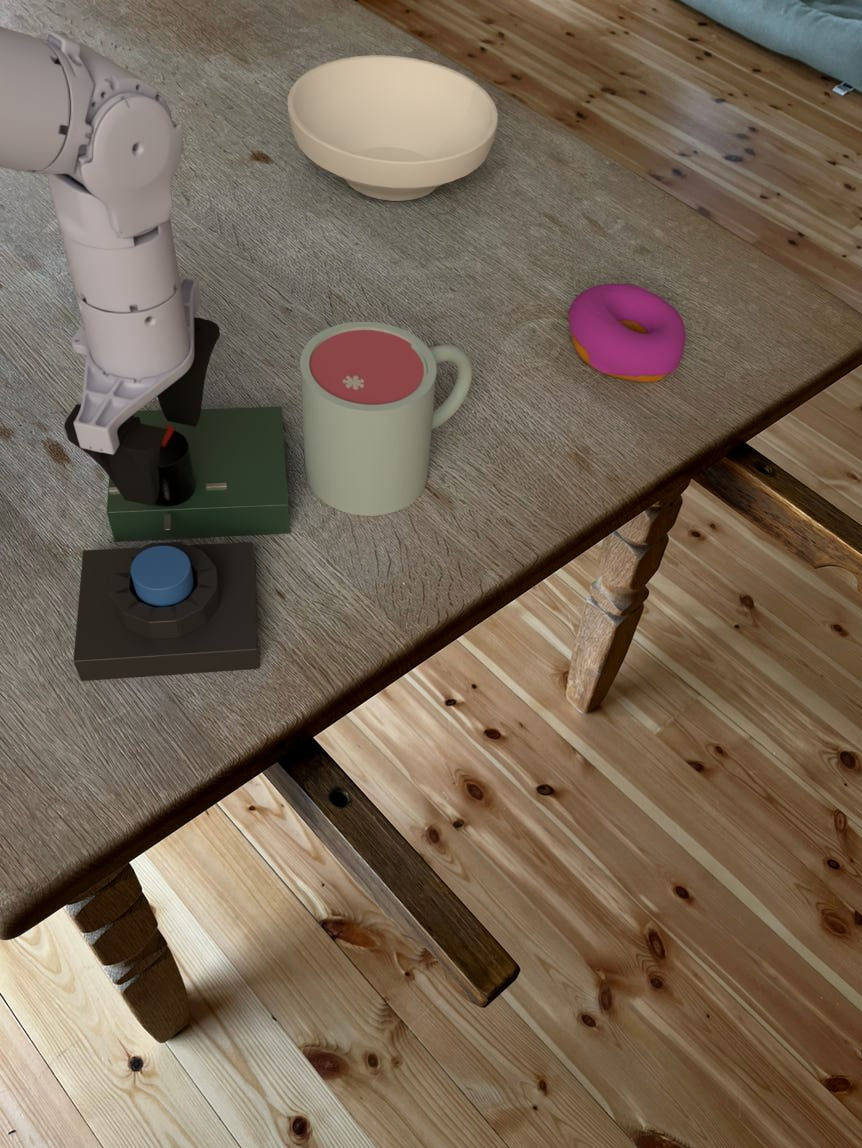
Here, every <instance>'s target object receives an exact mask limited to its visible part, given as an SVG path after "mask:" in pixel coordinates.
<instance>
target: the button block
mask: <svg viewBox="0 0 862 1148" xmlns="http://www.w3.org/2000/svg"><path fill="white" fill-rule="evenodd" d="M161 545H165V546H172V547H175V548H178V549H180V550H181V551H183V552H184V553H185V554H186V555H187V556H188V558H189V560H190V563H191V568H192V574H193V579H194V585H193V588H192V591H191V592H190V594H189V595H188V596H187V597H186V598H185V599H184V600H182V601H181V602H179V603H176V604H174V605H170V606H154V605H150V604H148V603H146V602H144V601H143V600H142V599H140V598H139V596H138V595H137V593H136V591H135V587H134V583H133V579H132V576H131V565H132V562H133V560H134V559H135V557H136V556H137V555H138V554H140V553H141V552H142V551H144V550H146V549H148V548H151V547H154V546H161ZM256 565H257V564H256V554H255V547H254V542H253V541H245V542H226V543H225V542H224V543H223V542H222V543H203V544H201V543H200V544H187V543H184V542H181V541H166V542H164V541H163V542H150V543H148V544H145V545H143V546H141V547H124V548H123V547H122V548H121V547H120V548H101V549H99V548H98V549H83V551H82V559H81V570H80V582H79V592H78V593H79V594H78V605H77V617H76V627H75V639H74V640H75V641H74V650H73V651H74V652H73V663H74V666H75V669H76V671H77V674H78V677H79V679H80V681H81V682H86V681H87V682H88V681H102V680H103V681H104V680H115V679H116V680H117V679H129V678H131V679H132V678H145V677H159V676H174V675H188V674H204V673H219V672H231V671H232V672H233V671H234V672H235V671H245V670H247V671H249V670H259V669H260V644H259V643H260V642H259V620H258V619H259V618H258V595H257V592H258V591H257V589H258V588H257V566H256Z"/></svg>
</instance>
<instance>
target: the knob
mask: <svg viewBox="0 0 862 1148" xmlns="http://www.w3.org/2000/svg"><path fill="white" fill-rule="evenodd" d="M165 429H168V431H167V432H166V434H165V436H164V438H163V441H162V444H161V447H160V453H159V461H158V471H159V495H158V499H157V501H156V503H155V505H157V506H162V507H171V506H176V505H179V504H182V503H184V502H186V501H187V500H188V499H189V498H190V497H191V496H192V495H193V493H194V491H195V479H194V474H193V468H192V462H191V456H190V450H189V444H188V441H187V439H186V438H185V437H184V436H183V435H182V434H180V433H179V432H177V431H174V427H171V426H165Z"/></svg>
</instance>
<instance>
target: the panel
mask: <svg viewBox="0 0 862 1148" xmlns="http://www.w3.org/2000/svg"><path fill="white" fill-rule="evenodd" d="M283 414H284V413H283V406H256V407H255V406H254V407H253V406H252V407H250V406H249V407H219V408H218V407H217V408H213V407H212V408H201V414H200V418H199V422H198V423H197V425H196V427H194V426H189V425H184V424H179V423H174V422H170V421H167V419H166V418H165V416H164V414H163V411H162V409H145V410H144V409H142V410H141V409H140V410H138V411H137V412H136V413H135V414H134V417H135V418H136V417H139V418H140V422H141V424H145V425H150V426H155V427H160V428H165V426H171V427H174V431H177V432H179V433H180V434H182V435H183V436H184V437H185V438H186V439H187V441H188V444H189V450H190V456H191V462H192V468H193V474H194V479H195V491H194V493H193V495H192V496H191V497H190V498H189V499H188V500H187V501H186V502H184V503H182V504H179V505H176V506H171V507H162V506H157V505H153V506H150V505H146V504H141V503H136V502H131V501H127V500H125V499H124V498H123V496H122V495H121V493H120V492H119V490H118V489H117V487H116V486H115V484H114V483H113V481H112V480H111V479H110V477H109V476H108V487H107V488H108V489H107V501H106V516H107V520H108V522H109V526H110V530H111V533H112V537H113V541H114V542H115V543H119V542H121V543H122V542H140V541H141V542H143V541H162V540H183V539H203V538H206V539H207V538H223V537H226V538H227V537H247V536H266V535H268V536H269V535H288V534H291V524H290V523H291V521H290V509H289V508H290V505H289V492H288V491H289V490H288V476H287V475H288V474H287V460H286V458H287V457H286V447H285V446H286V444H285V443H286V442H285V431H284V429H285V428H284V417H283V416H284V415H283Z"/></svg>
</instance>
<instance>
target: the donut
mask: <svg viewBox="0 0 862 1148" xmlns="http://www.w3.org/2000/svg"><path fill="white" fill-rule="evenodd" d="M567 314H568V327H569V331H570V336H571V340H572V344H573V346H574V349H575V351H576V353H577V354H578V356H579V357H580V358H581V359H582V360H583V362H584V363H586V364H587V365H588V366H590V367H591V368H593V369H594V370H596V372H597V371H598V373H602V374H604V375H607V376H609V377H613V378H616V379H621V380H625V381H631V382H637V383H653V382H659V381H661V380H663V379H664V378H666V377H667V376H668V375H669V374H672V373H673V372H675V371H676V370H677V369H678V367H679V365H680V364H681V360H682V357H683V354H684V350H685V344H686V336H687V335H686V326H685V323H684V320H683V318H682V316H681V314H680V313H679V312H678V311H677V310H676V308H675V307H673V306H672V304H670V303H669V302H667V301H666V300H665V299H663V298H662V297H661V296H659V295H657V294H656V293H654V292H652V291H650V290H649V289H646V288H644V287H641V286H637V285H634V284H629V283H620V282H619V283H618V282H617V283H616V282H615V283H614V282H613V283H605V284H598V285H594V286H592V287H588V288H587V289H585V290H583V291H582V292H580V293H578V295H576V296H575V298H573V300H572V302H571V304H570V306H569V309H568V311H567Z"/></svg>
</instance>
